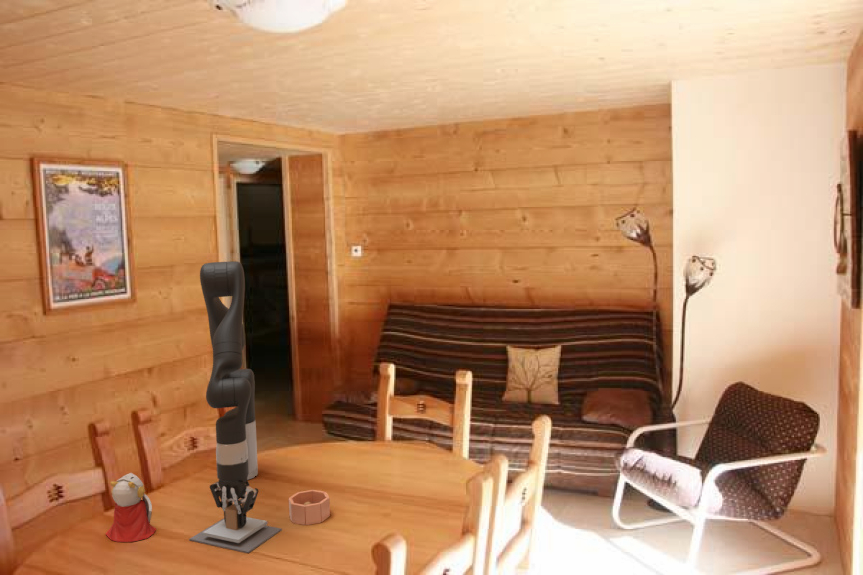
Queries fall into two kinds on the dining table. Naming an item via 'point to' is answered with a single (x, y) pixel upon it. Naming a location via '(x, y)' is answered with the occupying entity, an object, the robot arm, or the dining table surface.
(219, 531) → the lid
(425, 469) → the dining table surface
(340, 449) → the dining table surface
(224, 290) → the robot arm
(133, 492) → the figurine
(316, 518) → the bowl
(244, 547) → the mat
